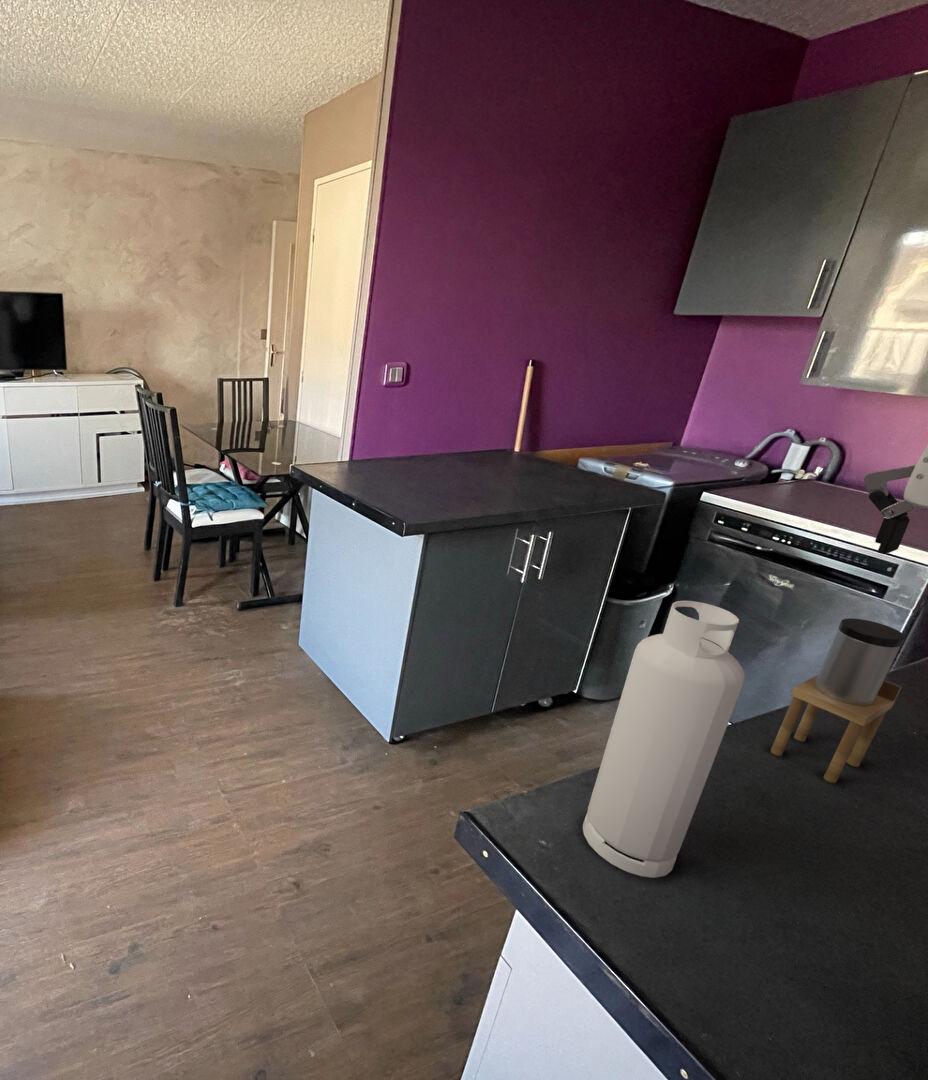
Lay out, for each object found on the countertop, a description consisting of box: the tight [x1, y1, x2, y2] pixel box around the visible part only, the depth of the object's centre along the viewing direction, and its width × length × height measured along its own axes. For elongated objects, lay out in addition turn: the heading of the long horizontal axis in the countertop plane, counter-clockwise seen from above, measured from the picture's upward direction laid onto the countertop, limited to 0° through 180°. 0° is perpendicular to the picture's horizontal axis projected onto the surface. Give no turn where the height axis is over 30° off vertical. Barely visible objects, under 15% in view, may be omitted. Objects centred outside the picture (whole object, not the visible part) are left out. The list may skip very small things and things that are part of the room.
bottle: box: [582, 600, 746, 878], centre depth 57 cm, size 8×8×28 cm
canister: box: [815, 617, 906, 706], centre depth 69 cm, size 5×5×9 cm
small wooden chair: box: [770, 673, 903, 784], centre depth 72 cm, size 8×7×12 cm
